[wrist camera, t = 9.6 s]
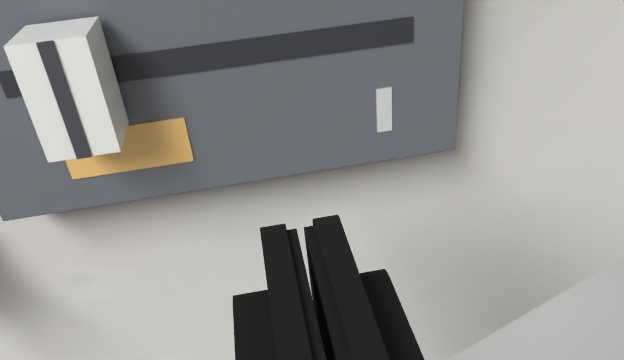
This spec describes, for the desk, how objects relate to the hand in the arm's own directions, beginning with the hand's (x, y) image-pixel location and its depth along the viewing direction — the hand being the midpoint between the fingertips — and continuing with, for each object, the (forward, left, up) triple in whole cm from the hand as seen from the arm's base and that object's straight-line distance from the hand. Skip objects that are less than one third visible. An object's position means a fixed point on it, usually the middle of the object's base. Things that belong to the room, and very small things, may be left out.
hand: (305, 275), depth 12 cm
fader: (+8, 0, -16) cm, 18 cm away
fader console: (+2, 0, -19) cm, 19 cm away
